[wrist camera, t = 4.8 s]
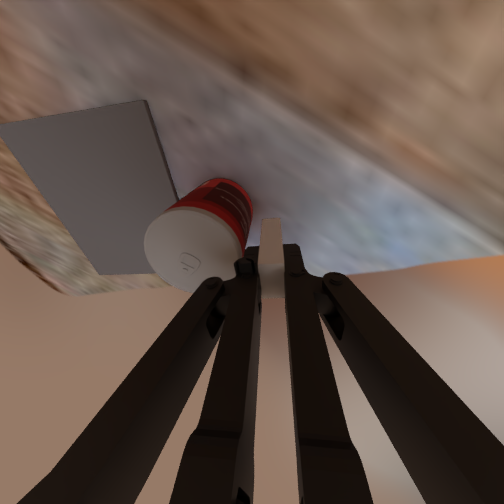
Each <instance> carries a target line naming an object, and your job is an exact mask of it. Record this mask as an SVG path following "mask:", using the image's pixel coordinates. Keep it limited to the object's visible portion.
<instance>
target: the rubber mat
mask: <svg viewBox="0 0 504 504" xmlns="http://www.w3.org/2000/svg"><path fill="white" fill-rule="evenodd" d="M0 137H1V138H2V139H3V141H4V142H5V144H6V145H7V146H8V148H9V149H10V151H11V152H12V153H13V155H14V156H15V158H16V159H17V160H18V162H19V163H20V165H21V166H22V167H23V169H24V170H25V172H26V173H27V174H28V176H29V177H30V179H31V180H32V181H33V183H34V184H35V186H36V187H37V188H38V190H39V191H40V193H41V194H42V195H43V197H44V198H45V200H46V201H47V202H48V204H49V205H50V207H51V208H52V209H53V211H54V212H55V214H56V215H57V216H58V218H59V219H60V221H61V222H62V223H63V225H64V226H65V228H66V229H67V230H68V232H69V233H70V235H71V236H72V237H73V239H74V240H75V242H76V243H77V244H78V246H79V247H80V249H81V250H82V251H83V253H84V254H85V256H86V257H87V258H88V260H89V261H90V263H91V264H92V265H93V267H94V268H95V270H96V271H97V272H98V274H99V275H113V274H148V273H156V272H155V271H154V270H153V268H152V267H151V265H150V263H149V262H148V260H147V257H146V254H145V250H144V238H145V233H146V231H147V229H148V227H149V225H150V224H151V223H152V222H153V220H155V219H156V217H157V216H159V215H160V214H161V213H163V212H164V211H165V210H166V209H168V208H169V207H171V206H172V205H173V204H175V203H176V202H178V201H179V199H178V196H177V193H176V190H175V187H174V184H173V181H172V178H171V175H170V172H169V169H168V165H167V162H166V159H165V156H164V153H163V150H162V147H161V144H160V141H159V138H158V135H157V132H156V128H155V125H154V122H153V119H152V116H151V113H150V110H149V107H148V104H147V101H145V100H140V101H134V102H128V103H122V104H116V105H111V106H105V107H99V108H93V109H87V110H81V111H75V112H70V113H64V114H58V115H52V116H46V117H40V118H34V119H29V120H23V121H17V122H11V123H5V124H0Z"/></svg>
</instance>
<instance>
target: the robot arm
mask: <svg viewBox="0 0 504 504" xmlns="http://www.w3.org/2000/svg"><path fill="white" fill-rule="evenodd" d="M234 268H235V273H236V277H234V278H232V279H230V280H226V281H223V280H222V279H221V278H220V277H210V278H207V279H206V280H204V281H203V282H202V283H201V284H200V286H199V287H198V288H197V289H196V291H195V292H194V293H193V295H192V296H191V297H190V298H189V299H188V301H187V302H186V303H185V304H184V306H183V307H182V308H181V310H180V311H179V312H178V313H177V314H176V316H175V317H174V318H173V319H172V321H171V322H170V323H169V324H168V326H167V327H166V328H165V329H164V331H163V332H162V333H161V334H160V336H159V337H158V338H157V339H156V341H155V342H154V343H153V345H152V346H151V347H150V348H149V349H148V351H147V352H146V353H145V354H144V356H143V357H142V358H141V359H140V361H139V362H138V363H137V364H136V366H135V367H134V368H133V369H132V371H131V372H130V373H129V374H128V376H127V377H126V378H125V379H124V381H123V382H122V383H121V384H120V386H119V387H118V388H117V390H116V391H115V392H114V393H113V394H112V396H111V397H110V398H109V399H108V401H107V402H106V403H105V405H104V406H103V407H102V408H101V409H100V411H99V412H98V413H97V415H96V416H95V417H94V418H93V419H92V421H91V422H90V423H89V424H88V426H87V427H86V428H85V429H84V431H83V432H82V433H81V435H80V436H79V437H78V438H77V439H76V441H75V442H74V443H73V444H72V446H71V447H70V448H69V449H68V451H67V452H66V453H65V454H64V456H63V457H62V458H61V459H60V461H59V462H58V463H57V465H56V466H55V467H54V468H53V469H52V471H51V472H50V473H49V474H48V475H47V476H46V477H44V478H43V479H42V480H41V481H40V482H39V483H38V484H37V485H36V486H35V487H34V488H33V489H32V490H31V491H30V492H29V493H27V494H26V495H25V496H24V497H23V498H22V499H21V500H20V501H19V502H18V503H17V504H134V503H135V501H136V499H137V497H138V495H139V493H140V492H141V490H142V488H143V486H144V484H145V483H146V481H147V479H148V477H149V475H150V473H151V471H152V469H153V467H154V465H155V463H156V461H157V459H158V457H159V455H160V453H161V451H162V449H163V447H164V445H165V443H166V441H167V439H168V438H169V435H170V434H171V431H172V430H173V428H174V426H175V424H176V421H177V420H178V418H179V416H180V414H181V412H182V410H183V408H184V406H185V404H186V402H187V400H188V398H189V396H190V394H191V392H192V390H193V388H194V386H195V385H196V383H197V381H198V378H199V377H200V375H201V373H202V371H203V369H204V367H205V365H206V363H207V361H208V359H209V357H210V355H211V353H212V351H213V349H214V347H215V345H216V343H217V341H218V339H219V337H220V341H219V344H218V349H217V352H216V356H215V360H214V364H213V368H212V372H211V376H210V381H209V384H208V388H207V393H206V396H205V400H204V404H203V408H202V412H201V416H200V420H199V423H198V425H197V428H196V429H195V430H194V431H193V433H192V434H191V435H190V437H189V439H188V441H187V443H186V446H185V449H184V452H183V456H182V459H181V463H180V466H179V470H178V473H177V477H176V481H175V484H174V488H173V492H172V495H171V499H170V503H169V504H253V492H254V437H255V436H254V435H255V418H256V401H257V383H258V364H259V347H260V327H261V312H262V303H261V295H262V298H285V309H286V321H287V335H288V347H289V362H290V375H291V388H292V402H293V416H294V430H295V443H296V457H297V475H298V490H299V504H373V500H372V497H371V493H370V490H369V485H368V482H367V478H366V475H365V471H364V468H363V465H362V461H361V459H360V456H359V454H358V451H357V450H356V448H355V447H354V445H353V443H352V441H351V438H350V436H349V432H348V428H347V424H346V420H345V417H344V413H343V409H342V405H341V401H340V397H339V393H338V389H337V385H336V381H335V377H334V374H333V369H332V366H331V361H330V357H329V353H328V349H327V346H326V342H325V338H324V334H323V330H322V326H321V322H320V318H319V314H320V317H321V318H322V320H323V322H324V323H325V325H326V327H327V329H328V331H329V333H330V334H331V336H332V338H333V340H334V341H335V343H336V345H337V347H338V348H339V350H340V352H341V354H342V355H343V357H344V359H345V360H346V363H347V364H348V366H349V368H350V370H351V371H352V373H353V375H354V377H355V378H356V380H357V382H358V384H359V386H360V387H361V389H362V391H363V393H364V394H365V396H366V398H367V400H368V402H369V403H370V405H371V407H372V408H373V410H374V412H375V414H376V416H377V417H378V419H379V421H380V423H381V425H382V426H383V428H384V430H385V432H386V433H387V435H388V436H389V439H390V440H391V442H392V444H393V446H394V448H395V449H396V451H397V452H398V455H399V456H400V458H401V460H402V461H403V463H404V465H405V467H406V469H407V471H408V472H409V474H410V476H411V478H412V479H413V481H414V483H415V485H416V486H417V488H418V490H419V492H420V494H421V495H422V497H423V499H424V501H425V502H426V504H504V446H503V444H502V443H501V442H500V441H499V440H498V439H497V438H496V437H495V436H494V435H493V434H492V433H491V431H490V430H489V429H488V428H487V427H486V426H485V425H484V424H483V423H482V422H481V421H480V420H479V418H478V417H477V416H476V415H475V414H474V413H473V412H472V411H471V410H470V409H469V408H468V407H467V406H466V405H465V403H464V402H463V401H462V400H461V399H460V398H459V397H458V396H457V395H456V394H455V393H454V391H453V390H452V389H451V388H450V387H449V386H448V385H447V384H446V383H445V382H444V381H443V380H442V379H441V378H440V376H439V375H438V374H437V373H436V372H435V371H434V370H433V369H432V368H431V367H430V366H429V365H428V363H427V362H426V361H425V360H424V359H423V358H422V357H421V356H420V355H419V354H418V353H417V352H416V350H415V349H414V348H413V347H412V346H411V345H410V344H409V343H408V342H407V341H406V340H405V339H404V338H403V337H402V335H401V334H400V333H399V332H398V331H397V330H396V329H395V328H394V327H393V326H392V325H391V324H390V322H389V321H388V320H387V319H386V318H385V317H384V316H383V315H382V314H381V313H380V312H379V311H378V309H377V308H376V307H375V306H374V305H373V304H372V303H371V302H370V301H369V300H368V299H367V298H366V297H365V295H364V294H363V293H362V292H361V291H360V290H359V289H358V288H357V287H356V286H355V285H354V284H353V282H352V281H351V280H350V279H349V278H348V277H346V276H345V275H343V274H341V273H337V272H330V273H327V274H325V275H324V276H323V278H322V277H317V276H313V275H311V274H309V273H308V272H307V270H306V269H305V267H304V263H303V259H302V255H301V251H300V247H299V246H298V245H297V244H282V233H281V223H280V218H271V219H263V220H262V229H261V238H260V246H253V247H248V248H247V249H246V250H245V252H244V256H243V258H240V259H238V260H236V261H235V262H234ZM318 313H319V314H318ZM220 335H221V336H220Z"/></svg>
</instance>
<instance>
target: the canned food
mask: <svg viewBox="0 0 504 504" xmlns="http://www.w3.org/2000/svg"><path fill="white" fill-rule="evenodd" d="M252 214H253V209H252V203H251V200H250V198H249V196H248V194H247V193H246V192H245V190H244V189H243V188H242V187H241V186H239V185H238V184H237V183H235V182H233V181H231V180H227V179H218V178H217V179H212V180H209V181H207V182H205V183H203V184H202V185H200V186H199V187H197V188H196V189H195V190H193V191H192V192H190V193H189V194H188V195H186V196H185V197H183V198H182V199H180V200H179V201H178V202H176V203H175V204H173V205H172V206H171V207H169V208H168V209H166V210H165V211H164V212H163V213H161V214H160V215H159V216H157V217H156V219H155V220H153V222H152V223H151V224H150V225H149V227H148V229H147V231H146V233H145V238H144V250H145V254H146V257H147V260H148V262H149V263H150V265H151V267H152V268H153V270H154V271H155V272H156V273H157V274H158V275H159V276H160V277H161V278H162V279H163V280H164V281H166V282H167V283H169V284H170V285H172V286H174V287H176V288H178V289H180V290H183V291H186V292H190V293H194V292H195V291H196V289H197V288H198V287H199V286H200V284H201V283H202V282H203V281H204V280H206V279H207V278H210V277H220V278H221V279H222V280H223V281H226V280H230V279H232V278H234V277H236V273H235V268H234V262H235V261H236V260H238V259H240V258H243V256H244V252H245V247H246V243H247V238H248V234H249V229H250V225H251V220H252Z"/></svg>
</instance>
